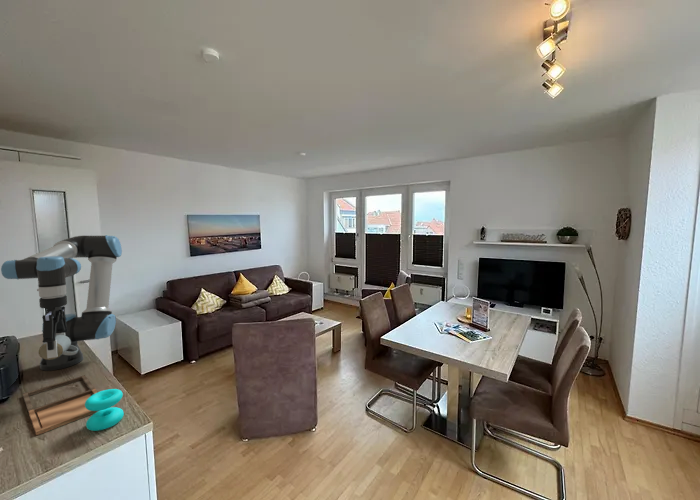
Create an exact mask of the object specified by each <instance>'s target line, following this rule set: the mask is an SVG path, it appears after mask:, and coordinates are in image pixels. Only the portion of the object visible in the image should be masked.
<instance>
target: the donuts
mask: <svg viewBox="0 0 700 500" xmlns="http://www.w3.org/2000/svg"><path fill="white" fill-rule="evenodd" d="M91 395H92V396H90V397H89V398H88V399H87V400H86V402H85V408H86V409H88V410H90V411H98V412H96V413H94V414H91V415H90V416H89V418H88V419H87V420H86V424H85V427H86V429H87V430H89V431H93V432H95V431H96V432H98V431H105V430H106V429H110V428H112V427H113V426H116V425H117V424H118V423H120V422H121V420H122V419H123V418H124V415H125V413H124V410H123V409H122V408H120V407H116V405H117V404H118V403H120V401H121V400H122V398H123V397H124V393H123V391H122V390H121V389H118V388H110V389H109V388H108V389H103V390H100V391H98V393H95V394H94V395H93V394H91Z"/></svg>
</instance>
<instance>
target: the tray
mask: <svg viewBox="0 0 700 500" xmlns="http://www.w3.org/2000/svg"><path fill="white" fill-rule="evenodd" d="M79 381H82V382H83V384H85V386H86V387H87V388H88V390H85V391H82V392H79V393H76V394H73V395H71V396H68V397H65V398H61V399H58V400H55V401H52V402H50V403H47V404H44V405H41V406H40V405H39V406H38V407H34V406H33V404H32V401H31V398H30V396H33V395H34V396H35V395H37V394H39V393H43V392H46V391H49V390H53V389H56V388H59V387H63V386H66V385H69V384H70V385H71V384H72V383H75V382H79ZM98 392H99V391H98V390H97V389H96V388H95V386H94V385H93V384H92V382H91V381H90V380H89V379H88V377H87V376H86V374H85V375H80V376H77V377H73V378H71V379H68V380H67V379H66V380H64V381H61V382H57V383H54V384H50V385H47V386H43V387H40V388H37V389H35V390H30V391H27V392H24V393H22V398H23V401H24V404H25V407H26V410H27V413H28V415H29V418H30V422H31V424H32V427H33V431H34V433H35V436H38V435H42V434H45V433H47V432H49V431H52V430H56V428H59V427H62V426H65V425H68V424H70V423H73V422H75V421H78V420H80V419H83V418H85V417H86V418H87V417H88V416H89V417H90V416H92V415H93V414H95V413H96V412H98V411H90V410H88V409H86V408H85V402H86V400H87V399H88V398H89V397H90V396H92V395H94V394H95V393H98ZM37 416H38V418H37ZM38 419H39V420H38ZM40 425H41V426H40Z"/></svg>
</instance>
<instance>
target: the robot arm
mask: <svg viewBox="0 0 700 500" xmlns="http://www.w3.org/2000/svg"><path fill="white" fill-rule="evenodd" d="M122 252H123V250H122V245H121V241H120V239H119V238H118V237H117V236H115V235H76V236H71V237H69V238H65V239H62V240H60V241H57V242H55V243H54V244H53V246H51V247H48V248H47V249H44V250H42V251H39V252H37V253H35V254H33V255H29V256H28V257H26V258H25V257H24V258H23V259H18V260H17V259H14V260H7V261H4V262H3V263H2V265H1V267H0V272H1V275H2V276H3V277H4V278H5V279H7V280H26V279H27V280H28V279H37V282H38V285H37V287H38V288H37V289H36V291H37V292H38V296H39V308H41V309H45V310H46V312H45V314H43V315H42V322H43V323H42V326H41V327H42V330H41V332H42V344H44V343H45V342H46V347H47V358H54V357H58V352H57V340H55V337H56V335H65V336H67V337H69V339H70V340H71V345H73V346H76V347H77V348H78V352H77V353H76V354H75V355H61V356H59V357H58V358H55V359H52V360H46V359H43V358H41V359H40V363H39V370H41V371H45V372H46V371H55V370H61V369H66V368H69V367H72V366H75V365H77V364H79V363H80V362H82V361H83V360H84V353H83V352H82V350H81V348H80V346H79V344H78V342H80V341H82V342H83V341H93V340H101V339H108V338H109V337H111V335H112V334H113V332H114V330H115V328H116V324H117V323H116V322H117V319H116V315H115V314H113V312H112V311H113V310H111V309H110V308H109V305H110V296H111V295H110V294H111V283H112V275H113V274H112V271H113V264H114V263H115V262H117V258H119V257H121V256H122ZM76 258H78V259H79V258H86V259H87V260H88V261H89V262H90V264H91V265H90V272H89V273H90V274H89V282H88V290H87V291H88V292H87V300H86V308H85V310H83V311H82V312H81V315H80V316H77V315H76V314H75V313H67V314H66V305H68V298H67V282H66V278H69V277H72V276H74V275H77V274H79V273H80V271H81V269H82V264H81V262H80V261H79V260H78V259H76ZM67 351H68V352H74V350H72V349H68V350H67Z"/></svg>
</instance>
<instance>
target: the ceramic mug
mask: <svg viewBox="0 0 700 500" xmlns="http://www.w3.org/2000/svg"><path fill="white" fill-rule="evenodd" d="M55 340H57V352H58V357H59V356H61V355H75V354H76V353H77V352H78V348H77V347H76V346H73V345H71V340H70V339H69V337H67V336H65V335H56V337H55ZM68 349H72V350H74V352H68V351H67V350H68ZM38 355H39V357H40V358H41V359H42V358H43V359H46V360H52V359H55V358H58V357H54V358H47V347H46V342H45V343H42V344H41V345H40V347H39V349H38Z"/></svg>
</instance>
